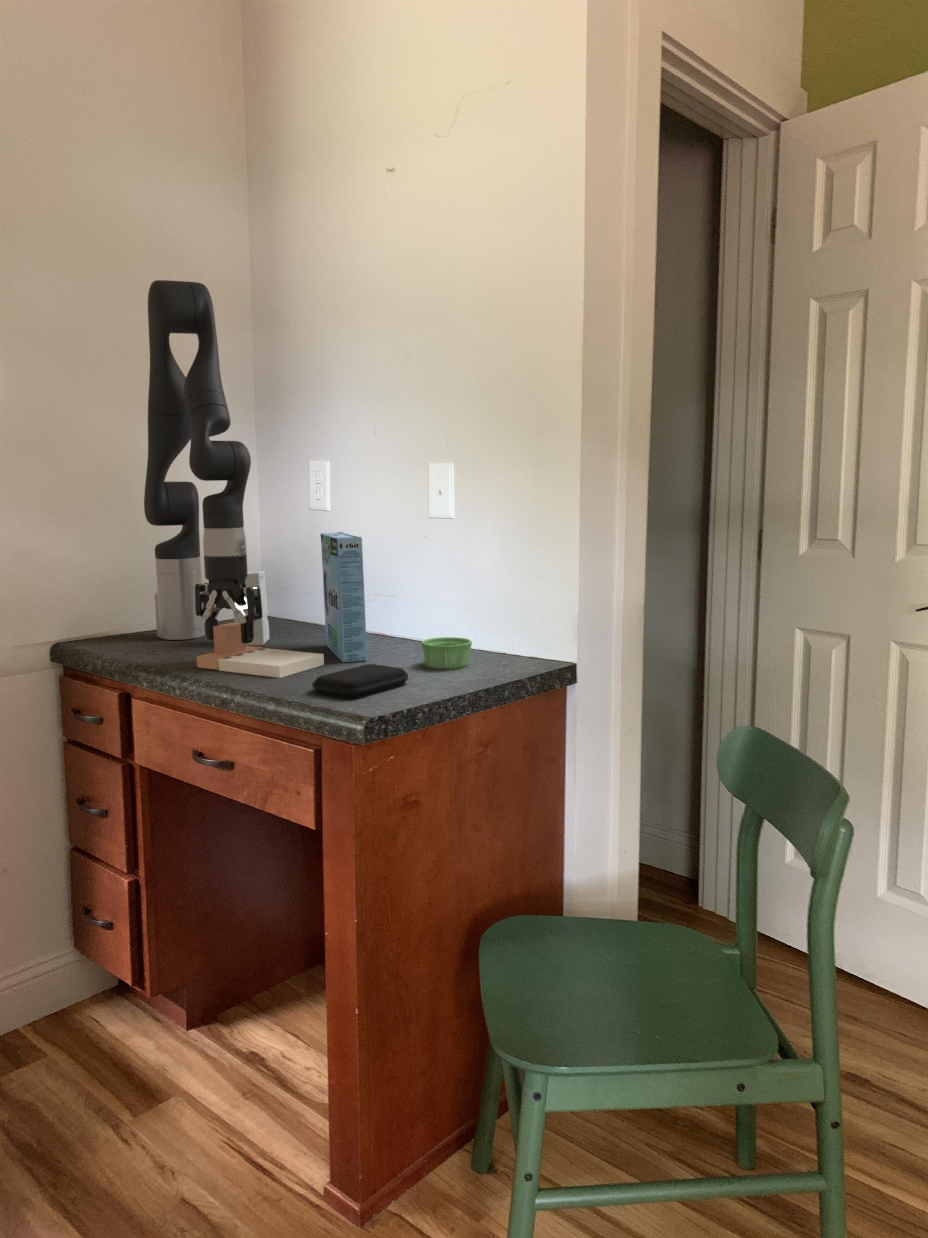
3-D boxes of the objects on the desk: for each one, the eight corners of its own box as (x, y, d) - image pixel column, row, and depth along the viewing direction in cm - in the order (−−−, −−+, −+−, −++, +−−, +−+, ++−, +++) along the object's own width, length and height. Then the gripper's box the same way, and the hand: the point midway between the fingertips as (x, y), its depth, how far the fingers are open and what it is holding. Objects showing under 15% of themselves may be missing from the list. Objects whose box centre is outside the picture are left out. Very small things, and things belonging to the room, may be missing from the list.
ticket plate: (218, 670, 160) (218, 658, 160) (264, 658, 171) (264, 647, 170) (279, 677, 154) (279, 665, 153) (323, 664, 164) (323, 653, 164)
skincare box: (264, 646, 184) (260, 573, 182) (234, 646, 183) (230, 573, 181) (269, 639, 192) (266, 569, 190) (241, 639, 192) (237, 569, 189)
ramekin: (480, 662, 165) (480, 639, 164) (456, 672, 157) (456, 647, 156) (438, 658, 169) (437, 635, 168) (412, 667, 161) (412, 643, 160)
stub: (197, 667, 163) (194, 628, 162) (243, 655, 173) (241, 619, 172) (217, 669, 160) (215, 630, 159) (263, 657, 171) (261, 621, 170)
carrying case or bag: (365, 677, 155) (302, 694, 143) (365, 660, 154) (301, 675, 142) (413, 685, 148) (351, 703, 137) (413, 667, 148) (350, 683, 136)
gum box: (367, 661, 167) (363, 536, 163) (340, 663, 165) (335, 537, 162) (348, 643, 185) (345, 531, 182) (324, 645, 184) (319, 532, 180)
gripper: (181, 553, 164) (186, 641, 166) (240, 555, 157) (245, 647, 160) (211, 550, 170) (216, 635, 173) (269, 552, 164) (273, 640, 166)
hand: (229, 641), depth 166 cm, fingers open, 8 cm apart
